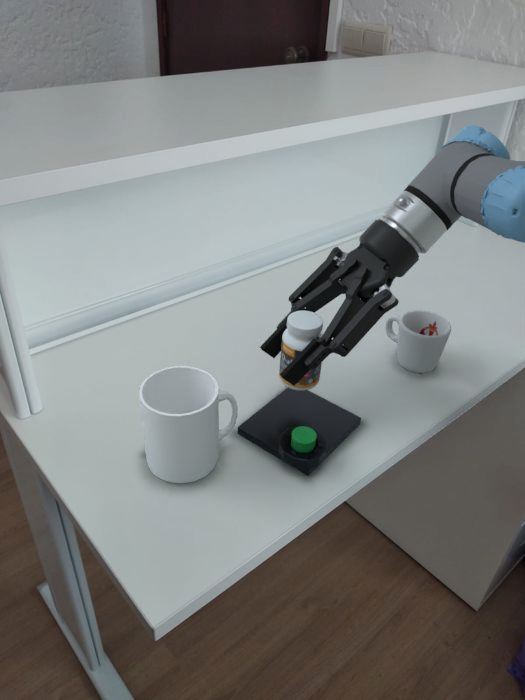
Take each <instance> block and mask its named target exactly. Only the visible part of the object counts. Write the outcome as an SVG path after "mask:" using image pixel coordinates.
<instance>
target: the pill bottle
mask: <svg viewBox="0 0 525 700" xmlns="http://www.w3.org/2000/svg"><path fill="white" fill-rule="evenodd" d="M323 327H324V320H323V317H322V316H321V315H320V314H318V313H316V312H315V313H314V312H311V311H296V312H293V313H291V314H290V315H289V316H288V318H287V329H286V330H285V331H284V333H283V336H282V347H281V352H280V360H279V370H278V371H279V372H278V378H279V381H280V382H281V383H282V385H284V387H286V388H290V389H293V390H299V391H304V390H308V391H310V390H312V389H313V388H315V387H316V386H317V385H318V384H319V382H320V378H321V373H322V364H323V361H322V362H321V364H319V366H318V367H317V368H315V369H313V370H312V369H310V370H309V371H308V372H307V373H306V375H305V376H304V377H303V378H302V379H301V380H300V381H299V382H298V383H297V384H296V385H295V386H294V385H292V384H291V383H289V382H288V381H286V380H285V379H283V378H282V377H281V376H280V373H281V372H282V371H283V370H284V369H285V368H286V367H287V366H288V365H289V364H290V363H291V362H292V361H293V360H294V359H295V358H296V357H297V356H298V355H299V354H300V352H301V351H302V350H303V349H304V348H305V347H306V346H307V345H308V344H309V343H310V342H311V341H312V340H313V339H314V338H315V339H316V337H317V336H318V337H320V338H321V337H322V335H323V334H324V333H323V329H324V328H323Z"/></svg>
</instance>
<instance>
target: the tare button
mask: <svg viewBox="0 0 525 700" xmlns="http://www.w3.org/2000/svg"><path fill="white" fill-rule="evenodd" d="M316 437H317V435H316V432H315V431H314V430H313V429H311V428H309V427H306V426H300V427H297V428H295V429H294V430H293V431H292V436H291V446H292V448H293V449H294V450H295V451H297V452H300V453H309V452H311V451H313V450H314V448H315V445H316Z"/></svg>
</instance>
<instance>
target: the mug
mask: <svg viewBox="0 0 525 700" xmlns="http://www.w3.org/2000/svg"><path fill="white" fill-rule="evenodd" d="M138 398H139V405H140V406H139V407H140V414H141V425H142V434H143V442H144V452H145V458H146V463H147V466H148V468H149V470H150V471H151V473H152V474H153V475H154V476H156V478H159V479H161V480H162V481H164V482H168V483H173V484H187V483H193V482H196V481H198V480H200V479H203V478H205V477H206V476H207V475H209V474H210V473H211V472H212V471H213V470H214V468H215V467H216V466H217V463H218V461H219V451H220V442H221V441H222V440H223V439H224V438H225V437H227V436H228V435H230V434H231V432H232V431H233V430H234V428H235V426H236V423H237V420H238V403H237V400H236V398H235V396H234V395H233V394H232V393H230V392H229V391H227V390H224V389H222V388H219V384H218V381H217V380H216V379H215V378H214V376H213V375H212V374H210V373H209V372H208V371H206V370H203V369H202V368H199V367H195V366H188V365H175V366H167V367H165V368H162V369H159V370H158V369H157V370H156V371H154V372H152V373H150V374H149V375H148V376H147V377H146V378H145V379H144V380H143V381H142V383H141V384H140V386H139V389H138ZM226 400H227V401H228V402H229V403H230V406H231V409H232V411H231V418H230V421H229V423H227V425H226V426H225V427H223V428H222V429H220V409H219V407H220V406H219V405H220V404H219V403H220V402H223V401H226Z"/></svg>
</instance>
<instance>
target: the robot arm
mask: <svg viewBox="0 0 525 700" xmlns="http://www.w3.org/2000/svg"><path fill="white" fill-rule="evenodd" d="M381 216H382V219H380V218H378V219H375V220H374V221H373V222H372V223H371V224H370V225H369V226H368V227H367V229H365V230H364V231H363V233H362V234H361V235H359V237H358V238H359V239H358V241H359V244H358V246H357V247H356V248H354V249H352V250H351V251H349V252H347V251H343V250H342V249H341V248H340V247H338V246H334V247H333V248H332V249H331V250H330V252H329V254H328V256H327V257H326V259H325V260H323V262H322V263H321V264H320V265H319V266H318V267H317V268H316V269H315V270H313V272H311V274H310V275H309V276H308V277H307V278H306V279H305V280H304V281H303V282H302V283H301V284H300V285H298V287H297V288H296V289H295V290H294V291H293V292H292V293H291V294H290V295H289V297H288V301H289V302H290V304H291V308H290V311H289V312H288V313H287V314H286V315H285V317H284V318H283V319H282V320H281V321H280V322H279V323H277V326H276V329H275V330H274V331H273V333H272V334H270V336H268V338H266V340H265V341H264V342H263V343H262V344H260V346H259V348H260V350H261V351H263V352H264V353H265V354H267V355H268V356H269V357H271V358H273V359H275V358H276V357H277V356H278V355H279V354H281V347H282V336H283V333H284V331H285V330H286V329H287V318H288V316H289V315H290V314H291V313H293V312H296V311H311V312H314V313H316V312H318V311H319V310H321V309H322V308H323V307H325V306H327V305H328V304H330V303H331V302H332V301H334V300H335V299H337V298H338V297H340V296H341V295H345V298H344V300H343V302H342V303H341V305H340V307H339V308H338V309H337V311H336V313H335V315H334V316H333V318H332V319H331V321H330V323H329V324H328V326H327V328H326V329H325V331H324V332H323V333H322V334H323V335H322V337H321V338H320V337H318V336H317V337H316V339H315V338H314V339H313V340H312V341H311V342H310V343H309V344H308V345H307V346H306V347H305V348H304V349H303V350H302V351H301V352H300V354H299V355H298V356H297V357H296V358H295V359H294V360H293V361H292V362H291V363H290V364H289V365H288V366H287V367H286V368H285V369H284V370H283V371H282V372H281V373H280V376H281V377H282V378H283V379H285V380H286V381H288V382H289V383H291V384H292V385H294V386H295V385H296V384H297V383H298V382H299V381H300V380H301V379H302V378H303V377H304V376H305V375H306V373H307V372H308V371H309V370H310V369H312V370H313V369H315V368H317V367H318V366H319V364H321V362H322V363H323V362H324V361H325V360H326V358H328V356H330V354H336V355H339V356H340V357H342V358H345V357H347V356H348V355H349V354H350V353H351V351H352V350H353V349H354V348H355V347H356V346H357V345H358V344H359V343H360V342H361V340H363V338H364V337H365V336H366V335H367V334H368V333H369V332H370V330H371V329H372V328H373V327H374V326H375V325H376V324H377V322H378V321H380V319H381V318H382V317H383V316H384V315H385V314H387V313H388V312H389V311H391V310H392V309H394V308H396V307H397V306H398V305H399V303H400V301H399V299H398V298H397V297H396V295H394V294H393V292H392V289H391V287H392V284H393V282H394V280H395V279H396V278H403V277H404V276H405V275H406V274H407V273H408V272H409V271H410V269H412V268H413V267H414V265H416V264H417V263H418V261H419V260H420V255H419V254H421V255H422V254H426V253H428V252H429V250H431V248H433V246H434V245H435V244H436V243H437V242H438V241H439V239H440V238H441V237H442V236H443V235H445V233H446V232H447V231H448V230H450V228H452V226H453V225H454V224H455V223H456V222H457V221H458V220H459V219H461V217H462V218H465V219H468V220H470V221H472V222H474V223H475V224H477V225H479V226H482V227H484V228H486V229H488V230H489V231H491V232H492V233H494V234H496V235H497V236H501V237H502V238H504V239H508V240H513V241H516V242H519V243H522V244H523V243H524V244H525V160H514V159H511V154H510V152H509V149H507V147H506V146H505V144H504V143H503V142H502V141H501V140H500V139H499V137H497V136H496V134H494V133H493V132H491V131H487V130H486V129H485V128H484V127H482V126H479V125H475V124H471V125H467V126H465V127H463V128H462V129H461V130H460V131H459V132H458V133H456V134H455V136H453V137H452V138H451V139H450V140H449V141H447V142H445V144H443V146H442V147H441V148H440V150H439V151H438V152H437V153H436V154H435V155H434V156H433V158H431V160H430V161H429V162H428V163H427V164H426V165H425V166H424V167H423V169H421V171H419V173H418V174H417V175H416V176H415V177H414V178H413V179H412V181H410V183H409V184H408V185H407V187H405V189H404V190H402V192H400V194H399V195H398V196H397V197H396V198H395V199H394V200H393V201H392V202H391V203H390V205H388V206H387V208H385V210H384V211H382V214H381ZM321 365H322V364H321Z"/></svg>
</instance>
